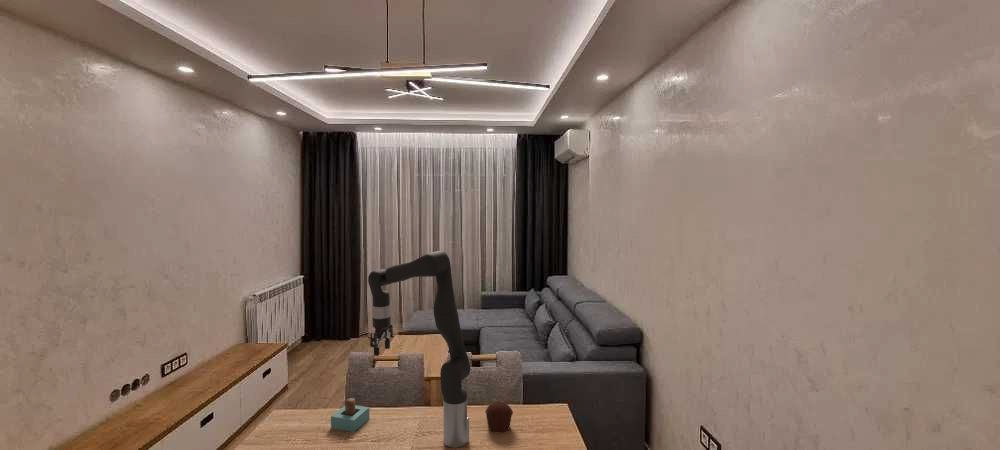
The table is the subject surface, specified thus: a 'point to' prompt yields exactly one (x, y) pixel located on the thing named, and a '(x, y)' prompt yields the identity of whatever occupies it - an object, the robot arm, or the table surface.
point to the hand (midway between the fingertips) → (382, 352)
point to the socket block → (350, 419)
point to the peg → (350, 407)
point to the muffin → (498, 416)
